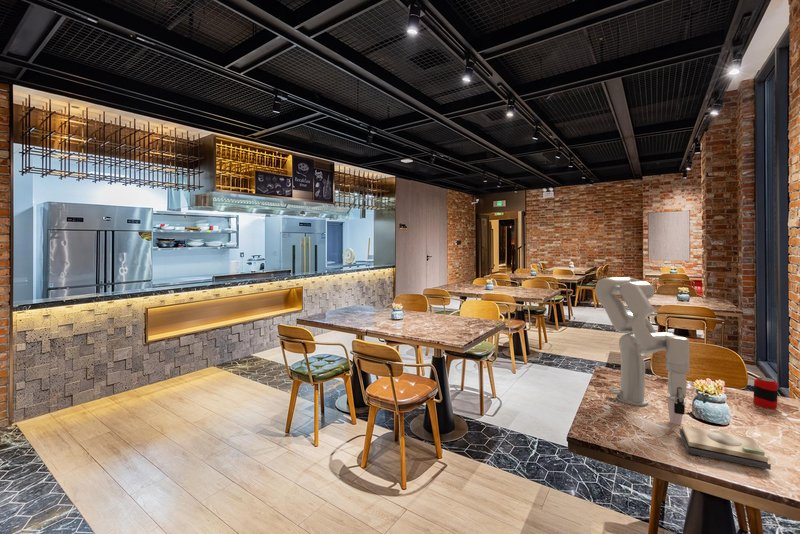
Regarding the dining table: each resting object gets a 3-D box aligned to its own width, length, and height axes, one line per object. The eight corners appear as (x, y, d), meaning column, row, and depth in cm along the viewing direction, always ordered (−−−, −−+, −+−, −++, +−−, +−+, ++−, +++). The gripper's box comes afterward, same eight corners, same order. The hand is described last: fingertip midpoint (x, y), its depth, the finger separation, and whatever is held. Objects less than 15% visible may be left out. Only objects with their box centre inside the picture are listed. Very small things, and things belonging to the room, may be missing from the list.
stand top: (689, 445, 127) (689, 439, 127) (681, 428, 139) (681, 422, 139) (768, 462, 117) (768, 455, 117) (752, 442, 129) (752, 435, 129)
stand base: (687, 455, 127) (687, 447, 127) (679, 435, 140) (679, 428, 140) (770, 472, 117) (770, 464, 117) (753, 450, 130) (753, 442, 130)
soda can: (751, 400, 172) (752, 375, 171) (773, 404, 168) (774, 378, 167) (756, 406, 165) (757, 380, 164) (779, 410, 161) (780, 383, 161)
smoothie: (688, 426, 147) (689, 392, 146) (670, 425, 148) (671, 391, 147) (680, 419, 153) (681, 386, 152) (662, 418, 154) (663, 385, 154)
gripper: (663, 360, 159) (662, 400, 159) (669, 371, 144) (669, 415, 144) (685, 363, 155) (684, 403, 155) (693, 374, 140) (693, 419, 140)
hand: (677, 409), depth 150 cm, fingers open, 9 cm apart
